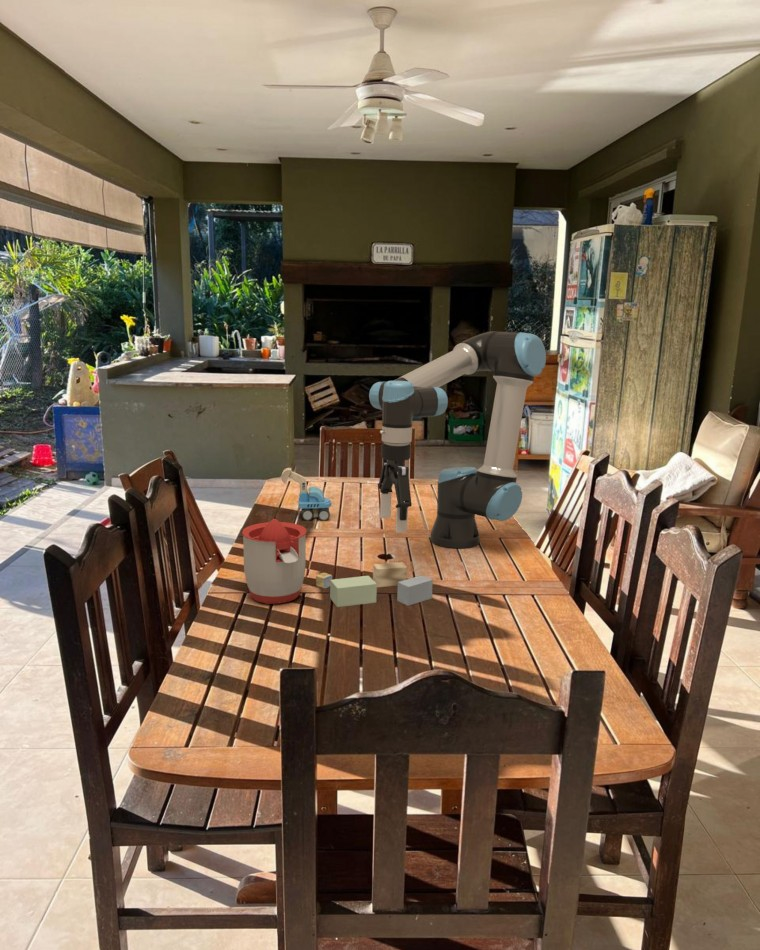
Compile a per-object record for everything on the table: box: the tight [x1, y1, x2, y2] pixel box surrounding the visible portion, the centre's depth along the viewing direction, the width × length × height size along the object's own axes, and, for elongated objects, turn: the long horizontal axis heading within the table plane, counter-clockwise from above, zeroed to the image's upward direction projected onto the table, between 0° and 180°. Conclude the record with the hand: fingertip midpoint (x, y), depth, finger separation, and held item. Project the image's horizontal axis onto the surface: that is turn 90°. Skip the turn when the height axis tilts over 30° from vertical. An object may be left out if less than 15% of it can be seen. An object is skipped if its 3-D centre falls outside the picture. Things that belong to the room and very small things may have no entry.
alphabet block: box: [315, 572, 333, 589], centre depth 195 cm, size 3×3×3 cm
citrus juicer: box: [241, 518, 308, 605], centre depth 185 cm, size 16×17×20 cm
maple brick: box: [372, 561, 408, 588], centre depth 198 cm, size 8×4×5 cm, turn 106°
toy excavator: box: [281, 467, 332, 522], centre depth 254 cm, size 9×17×17 cm, turn 95°
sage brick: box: [329, 575, 378, 608], centre depth 186 cm, size 10×6×5 cm, turn 110°
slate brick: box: [396, 575, 433, 607], centre depth 187 cm, size 8×4×5 cm, turn 129°
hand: (392, 524), depth 194 cm, fingers open, 13 cm apart
